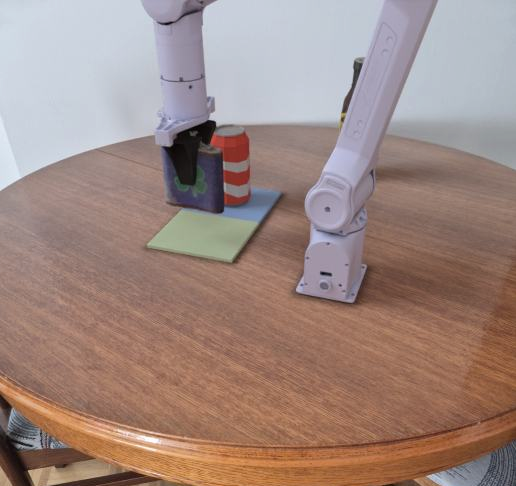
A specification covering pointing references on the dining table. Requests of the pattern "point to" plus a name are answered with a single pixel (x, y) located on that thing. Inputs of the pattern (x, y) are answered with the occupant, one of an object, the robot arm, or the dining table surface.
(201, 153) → the flask
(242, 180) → the beverage can
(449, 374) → the dining table surface
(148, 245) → the sorting mat
